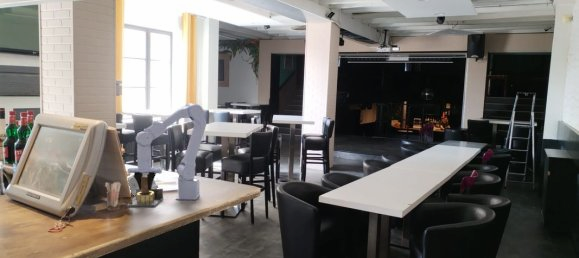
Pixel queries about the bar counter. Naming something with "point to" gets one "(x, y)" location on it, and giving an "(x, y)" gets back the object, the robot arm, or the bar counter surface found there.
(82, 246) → the bar counter surface
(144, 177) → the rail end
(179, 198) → the robot arm
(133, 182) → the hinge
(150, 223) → the bar counter surface
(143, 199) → the cup bracket
